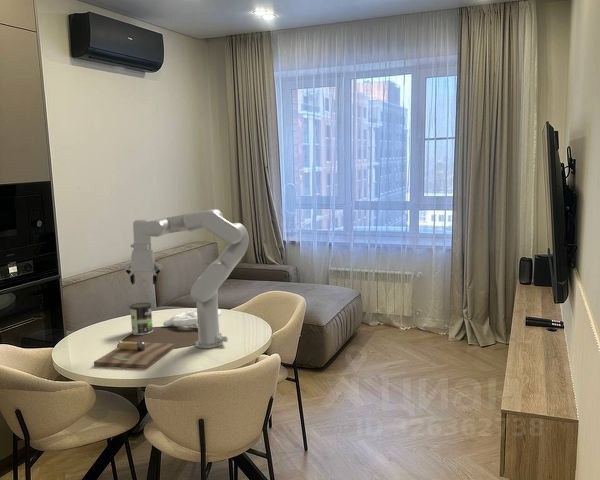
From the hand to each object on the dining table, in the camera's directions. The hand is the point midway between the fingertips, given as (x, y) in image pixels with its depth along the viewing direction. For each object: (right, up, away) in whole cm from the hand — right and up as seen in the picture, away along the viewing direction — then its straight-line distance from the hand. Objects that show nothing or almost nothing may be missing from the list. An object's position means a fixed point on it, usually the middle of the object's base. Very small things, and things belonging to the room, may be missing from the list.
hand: (143, 283), depth 243 cm
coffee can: (-8, -27, +25) cm, 37 cm away
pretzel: (+16, -24, +37) cm, 47 cm away
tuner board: (0, -31, -11) cm, 33 cm away
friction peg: (-3, -28, -8) cm, 30 cm away
